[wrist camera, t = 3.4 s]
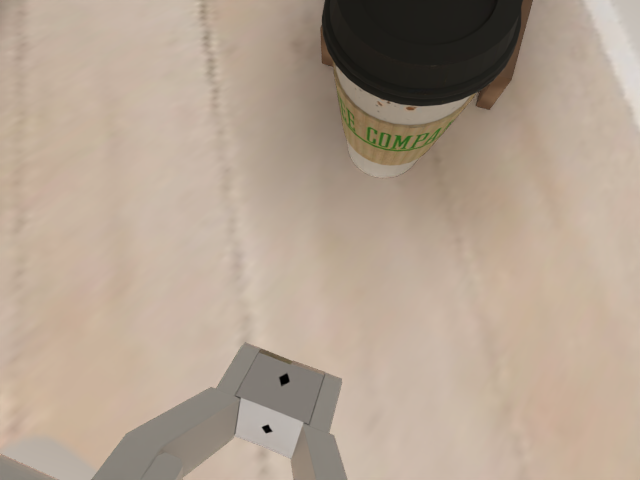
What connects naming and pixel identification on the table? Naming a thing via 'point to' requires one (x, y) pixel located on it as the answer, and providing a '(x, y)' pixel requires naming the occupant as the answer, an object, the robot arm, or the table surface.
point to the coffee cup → (412, 70)
